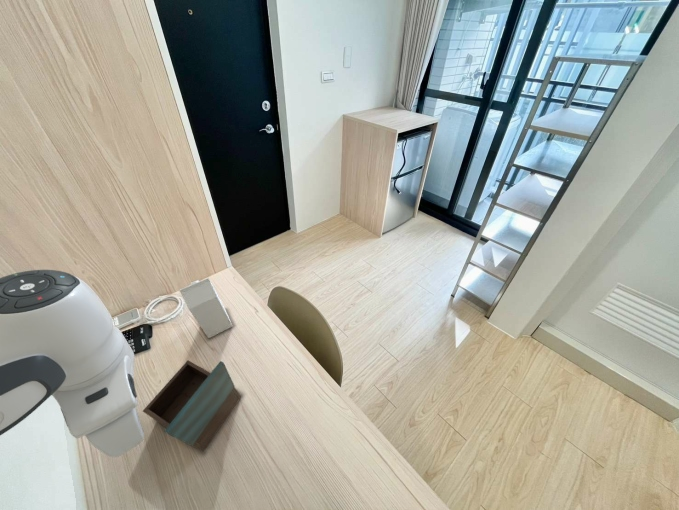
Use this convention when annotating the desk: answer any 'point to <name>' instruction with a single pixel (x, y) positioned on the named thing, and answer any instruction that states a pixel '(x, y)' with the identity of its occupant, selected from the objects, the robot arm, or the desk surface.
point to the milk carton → (206, 307)
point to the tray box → (180, 393)
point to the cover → (201, 406)
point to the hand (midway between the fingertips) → (126, 404)
